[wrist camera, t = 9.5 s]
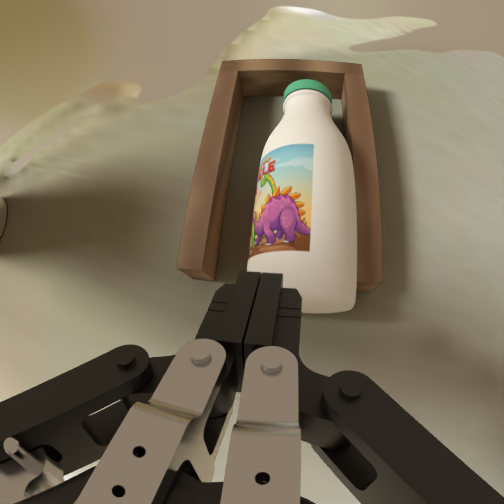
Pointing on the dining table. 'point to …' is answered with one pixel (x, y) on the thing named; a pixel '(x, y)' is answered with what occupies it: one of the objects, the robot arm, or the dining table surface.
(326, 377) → the robot arm
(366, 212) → the walnut U-rest
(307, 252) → the milk bottle
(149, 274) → the dining table surface
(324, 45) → the dining table surface
